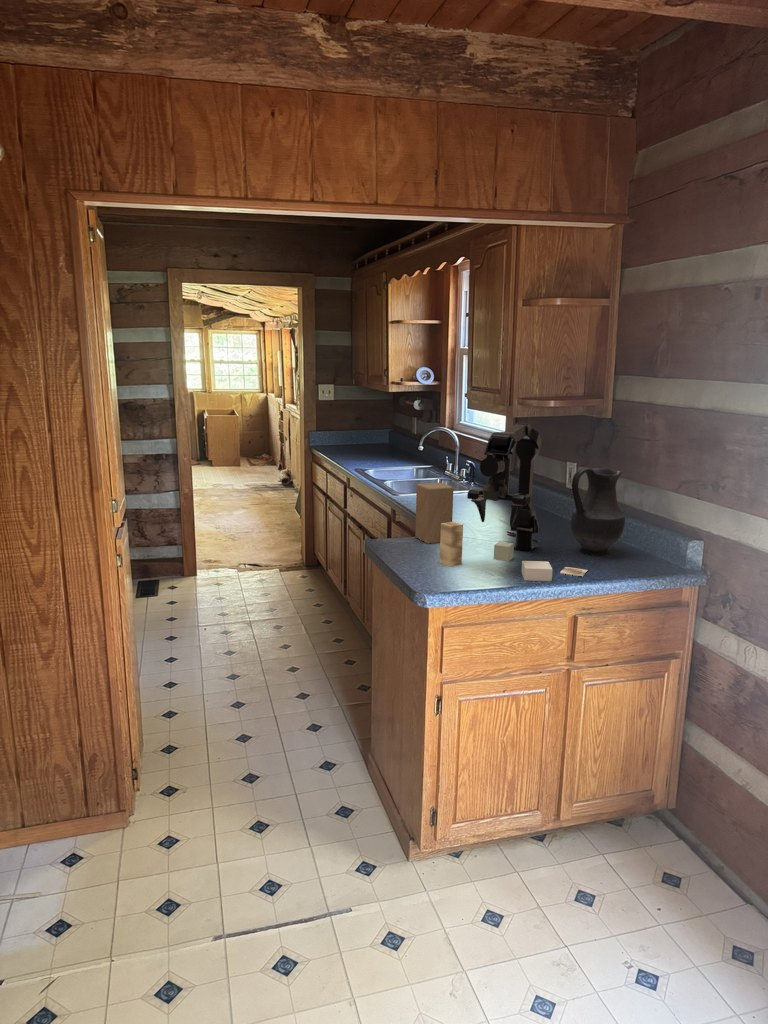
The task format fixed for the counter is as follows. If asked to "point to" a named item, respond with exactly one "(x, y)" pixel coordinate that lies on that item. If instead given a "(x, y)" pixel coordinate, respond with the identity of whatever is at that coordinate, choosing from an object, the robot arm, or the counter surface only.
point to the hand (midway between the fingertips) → (496, 524)
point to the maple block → (451, 543)
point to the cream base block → (537, 570)
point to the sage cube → (503, 551)
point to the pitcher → (597, 511)
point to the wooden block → (432, 510)
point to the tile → (573, 571)
